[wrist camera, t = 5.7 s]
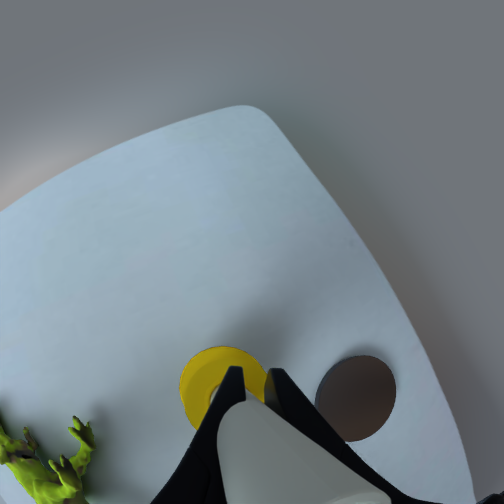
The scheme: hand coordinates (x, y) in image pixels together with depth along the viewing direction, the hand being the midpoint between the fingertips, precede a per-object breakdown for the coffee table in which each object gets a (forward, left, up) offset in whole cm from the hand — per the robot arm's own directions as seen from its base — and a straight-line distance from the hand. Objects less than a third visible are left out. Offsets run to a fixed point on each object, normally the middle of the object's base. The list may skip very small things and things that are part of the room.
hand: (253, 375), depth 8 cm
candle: (-1, +1, -8) cm, 8 cm away
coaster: (-7, -7, -10) cm, 15 cm away
